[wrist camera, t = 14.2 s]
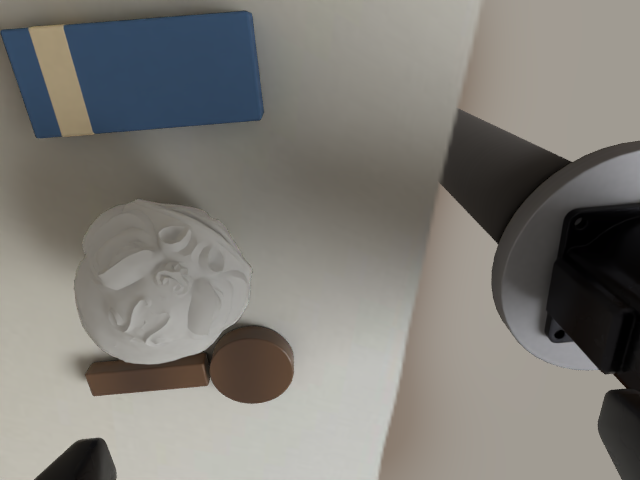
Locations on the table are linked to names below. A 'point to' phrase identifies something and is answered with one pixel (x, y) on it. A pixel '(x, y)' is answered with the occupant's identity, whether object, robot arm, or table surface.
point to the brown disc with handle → (209, 369)
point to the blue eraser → (137, 73)
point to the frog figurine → (159, 281)
